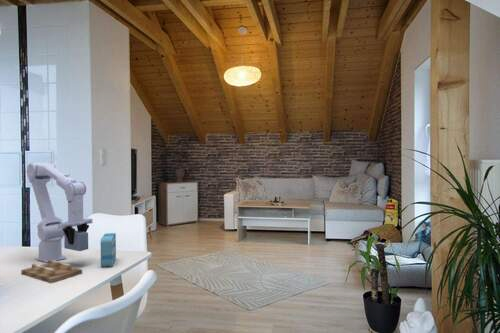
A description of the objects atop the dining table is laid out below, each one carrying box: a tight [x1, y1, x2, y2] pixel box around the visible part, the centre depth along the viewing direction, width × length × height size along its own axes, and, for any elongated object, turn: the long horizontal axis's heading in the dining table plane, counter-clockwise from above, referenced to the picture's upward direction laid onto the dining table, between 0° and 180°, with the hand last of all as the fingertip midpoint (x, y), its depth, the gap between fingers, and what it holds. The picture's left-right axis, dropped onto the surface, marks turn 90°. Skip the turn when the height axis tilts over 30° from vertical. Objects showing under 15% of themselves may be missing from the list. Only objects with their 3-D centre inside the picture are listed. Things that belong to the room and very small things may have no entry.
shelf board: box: [20, 260, 83, 284], centre depth 135 cm, size 20×12×4 cm, turn 61°
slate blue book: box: [63, 229, 89, 252], centre depth 145 cm, size 10×4×7 cm, turn 61°
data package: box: [100, 232, 117, 268], centre depth 148 cm, size 12×4×12 cm, turn 15°
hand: (76, 243), depth 145 cm, fingers closed on slate blue book, 4 cm apart
